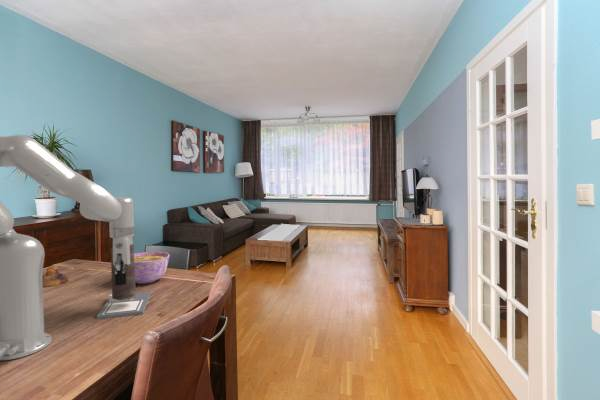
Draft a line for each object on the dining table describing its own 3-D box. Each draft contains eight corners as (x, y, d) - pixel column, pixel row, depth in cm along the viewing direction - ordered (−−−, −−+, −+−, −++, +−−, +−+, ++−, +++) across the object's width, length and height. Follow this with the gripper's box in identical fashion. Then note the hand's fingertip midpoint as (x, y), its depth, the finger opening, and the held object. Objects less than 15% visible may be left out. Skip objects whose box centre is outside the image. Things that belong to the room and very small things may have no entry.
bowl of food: (179, 279, 145) (178, 255, 144) (138, 291, 127) (137, 264, 127) (153, 272, 155) (152, 249, 154) (112, 283, 138) (111, 258, 137)
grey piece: (142, 313, 107) (142, 304, 106) (96, 319, 102) (96, 309, 102) (150, 293, 125) (150, 285, 125) (111, 297, 121) (111, 289, 121)
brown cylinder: (124, 304, 105) (123, 247, 104) (106, 302, 107) (104, 246, 105) (140, 296, 113) (139, 242, 111) (123, 294, 114) (121, 241, 113)
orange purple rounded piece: (63, 286, 134) (63, 269, 133) (29, 289, 129) (28, 272, 129) (72, 278, 145) (71, 263, 144) (41, 280, 140) (40, 265, 140)
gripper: (128, 235, 101) (130, 287, 102) (138, 227, 117) (139, 272, 119) (102, 236, 99) (104, 290, 100) (116, 228, 115) (117, 274, 116)
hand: (123, 280), depth 109 cm, fingers closed on brown cylinder, 7 cm apart
